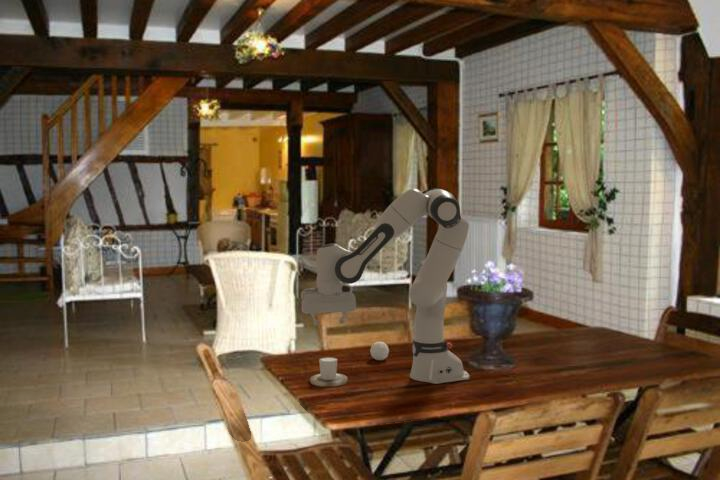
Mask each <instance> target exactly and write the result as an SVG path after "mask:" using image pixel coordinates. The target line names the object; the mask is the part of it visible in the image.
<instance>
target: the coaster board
mask: <svg viewBox="0 0 720 480" xmlns="http://www.w3.org/2000/svg"><path fill="white" fill-rule="evenodd" d="M309 383H310V384H311V385H313V386H316V387H320V388H321V387H323V388H335V387H341V386H343V385H346V384H347V383H348V377H347V376H346V375H345V374H343V373H337V372H336V378H335V379H332V380H324V379H321V373H317V374H314V375H311V377H309Z"/></svg>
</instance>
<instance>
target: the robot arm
mask: <svg viewBox="0 0 720 480" xmlns="http://www.w3.org/2000/svg"><path fill="white" fill-rule="evenodd" d="M425 216H429V217H430V218H432V219H433V220H434V221H435V222H436V223H437V224H438V228H437V232H436V233H435V235H434V238H433V240H432V243H431V246H430V248H429V251H428V253H427V255H426V258H425V259H424V261H423V263H422V265H421V267H420V269H419V271H418V272H417V274H416V276H415V279H414V281H413V282H412V284H411V287H410V289H409V299H410V301H411V302H412V303H413V304H414V305H415V306H416V311H415V315H414V320H413V323H414V324H413V326H414V329H413V330H414V331H413V334H414V335H413V339H412V355H413V356H412V357H413V358H412V364H411V365H412V366H411V370H410V373H409V378H410V379H412V380H413V381H418V382H425V383H430V384H434V385H435V384H443V383H445V384H446V383H451V382H458V381H467V380H469V379H470V374H469V373H468V371H466V370H464V366H463V362H462V360H461V359H460V358H459V357H458V356H457V355H456V354H454V353H453V352H451V351H450V350H449V349H452V348H453V344H452V343H451V342H448V341H446V340H445V339H444V322H445V321H444V319H445V310H446V303H447V292H448V291H447V290H448V280H449V278H450V277H451V274H452V273H453V271H454V269H455V267H456V266H457V262H458V260H459V257H460V255H461V252H462V250H463V248H464V246H465V243H466V241H467V236H468V233H469V228H470V224H469V222H468V220H467V219H466V218H465V217H464V216H462V215H461V208H460V204H459V201H458V199H456V197H455V196H454V195H453V194H452V193H451V192H449V191H447V190H446V189H445V188H442V187H434V188H430V189H427V190H423V191H421V190H420V189H417V188H409V189H408V190H407V189H406V191H404V192H403V193H401V194H400V195H399V196H398V197H397V198H395V200H393V201H392V202H391V203H390V204H389V205H388V206H387V207H386V208H385V210H384V211H383V213H382V214H381V215H380V217H379V218H378V220H377V223H376V225H375V227H374V228H373V230H372V231H371V233H370V234H369V236H368V237H367V238H366V239H365V240H364V241H363V242H362V243H361V244H360V245H359V246H358V247H357V248H355V250H354V251H351V250H348V249H347V248H344V247H342V246H340V245H339V244H338V243H337V242H336V243H327V244H324V245H321V246H320V247H318V249H317V251H316V256H315V257H316V259H315V260H316V261H315V262H316V264H315V267H316V272H317V274H316V287H312V288H309V287H308V288H307V287H306V288H304V289H303V290H301V292H300V300H301V312H302V313H303V314H304V315H307V314H308V315H309V314H310V315H311V317H312V319H313V323H314V326H319V325H320V320H319V319H316V315H317V314H324V313H341V314H342V316H341V317H340V318H338V319H339V321H338V323H339V324H345V318H346V317H347V315H348V312H355V311H356V310H357V302H356V301H357V299H356V296H355V294H354V293H353V291H354V290H353V289H354V288H353V286H352V285H350V284H355V283H357V282H358V281H359V280H360V279H361V278H362V276H363V274H364V271H365V269H366V266H367V265H368V264H369V262H371V260H372V259H373V258H374V257H375V256H376V255H377V254H378V253H379V252H380V251H381V250H382V249H383V248H384V247H385V246H387V245H388V244H389V243H391V242H392V241H394V240H396V239H397V238H399V237H401V236H402V235H404V234H405V233H407V231H408V230H409V229H411V227H412V226H413V225H414V224H415V223H416V222H417V221H418V220H419V219H421V218H422V217H425Z"/></svg>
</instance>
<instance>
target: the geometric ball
mask: <svg viewBox="0 0 720 480" xmlns="http://www.w3.org/2000/svg"><path fill="white" fill-rule="evenodd" d="M369 351H370V354H371V357H372V358H373V359H375V360H376V361H384V360H385V359H386V358H388V355H389V352H390V349H389V346H388V345H387V344H386V343H385V342H383V341H376V342H375V343H372V344H371V346H370V350H369Z"/></svg>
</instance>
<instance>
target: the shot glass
mask: <svg viewBox="0 0 720 480" xmlns="http://www.w3.org/2000/svg"><path fill="white" fill-rule="evenodd" d="M318 362H319V374H321V379H324V380H332V379H335V378H336V373H337V368H338V358H335V357H330V356H329V357H328V356H327V357H322V358H319V360H318Z"/></svg>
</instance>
